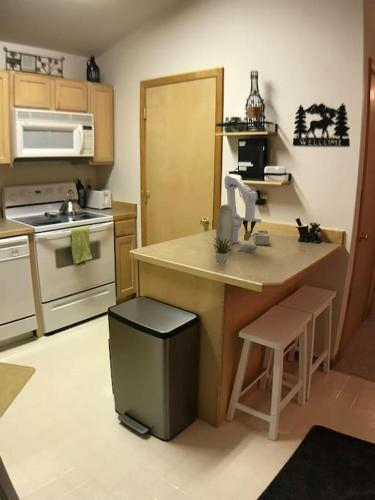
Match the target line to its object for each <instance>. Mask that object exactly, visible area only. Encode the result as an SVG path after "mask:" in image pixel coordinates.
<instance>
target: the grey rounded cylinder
mask: <svg viewBox="0 0 375 500" xmlns="http://www.w3.org/2000/svg"><path fill="white" fill-rule="evenodd" d="M218 210H219V212H218V217H217V221H216V230H215V231H216V232H215V233H216V235H215V239H216V240H217V241H218V242H219V240H218V238H217V236H219V238H220V241H223V243H224V241H225V238H226V242H227V241H229V240H230V239H231V238H232V239H231V240H230V241H229V242H228V243H227V245H230V246H231V247H232V246H233V243H232V241H233V219H234V218H232V209H231V207H230V206H229V205H228V204H221V206H220V207H219V209H218ZM222 239H224V240H222ZM216 240H215V242H216V243H217V241H216ZM226 242H225V243H226ZM216 243H215V244H216ZM216 245H218V243H217V244H216ZM230 246H228V247H229V249H231V247H230ZM218 247H219V245H218ZM228 247H227V248H228ZM219 248H220V247H219Z"/></svg>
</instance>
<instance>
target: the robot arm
mask: <svg viewBox="0 0 375 500" xmlns="http://www.w3.org/2000/svg"><path fill="white" fill-rule="evenodd" d="M224 188H225V189H226V196H227V205H229V206H230V207H231V209H232V218H233V237H234V238H233V241H232V244H233V243H234V244H237V243H239V242H240V239H239V230H240V228H241V227H242V224H243V227H244V234H245V233H246V232H247V231H248V226H249V223H250V230H249V231H250V234H252V232H254V228H255V226H256V223H260V224H261V223H262V218H257V217H256V216H255V214H256V202H257V201H258V198H259V196H258V192H257V191H253V190H252V188H250V186H249V185H247V184H245V183H244V182H243V179H242V176H241V174H235V175H234V174H231V175H230V174H227V175H225V178H224ZM238 188H239V189H240V193H241V194H242V195H243V197H244V203H245V212H244V214H245V215H244V217H241V216H240V215H239V214H238V212H237V211H238V210H237V205H236V201H237V200H236V195H235V194H236V191H235V190H237V189H238ZM255 217H256V218H255Z"/></svg>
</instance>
